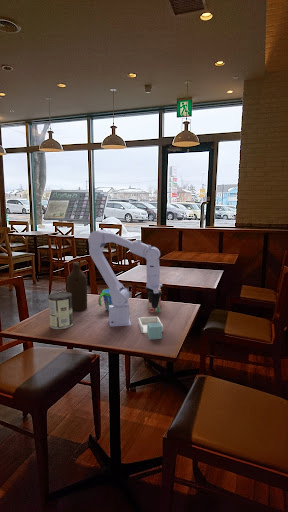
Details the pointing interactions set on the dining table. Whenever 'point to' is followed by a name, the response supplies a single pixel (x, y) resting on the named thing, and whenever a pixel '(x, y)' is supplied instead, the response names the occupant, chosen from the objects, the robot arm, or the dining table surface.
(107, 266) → the robot arm
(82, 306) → the olive oil
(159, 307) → the stack of blocks
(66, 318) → the coffee can
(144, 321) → the open box
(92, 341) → the dining table surface
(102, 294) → the snack cup
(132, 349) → the dining table surface
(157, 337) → the teal block
